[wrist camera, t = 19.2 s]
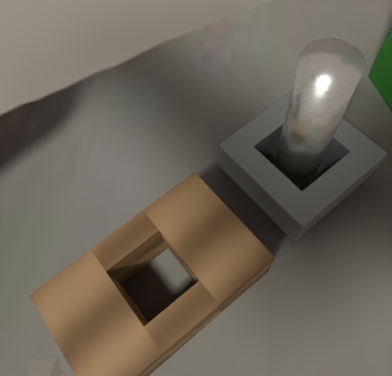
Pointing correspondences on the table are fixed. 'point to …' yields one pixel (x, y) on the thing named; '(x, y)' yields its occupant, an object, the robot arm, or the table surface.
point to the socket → (280, 185)
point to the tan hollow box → (134, 261)
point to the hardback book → (384, 71)
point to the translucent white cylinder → (317, 106)
